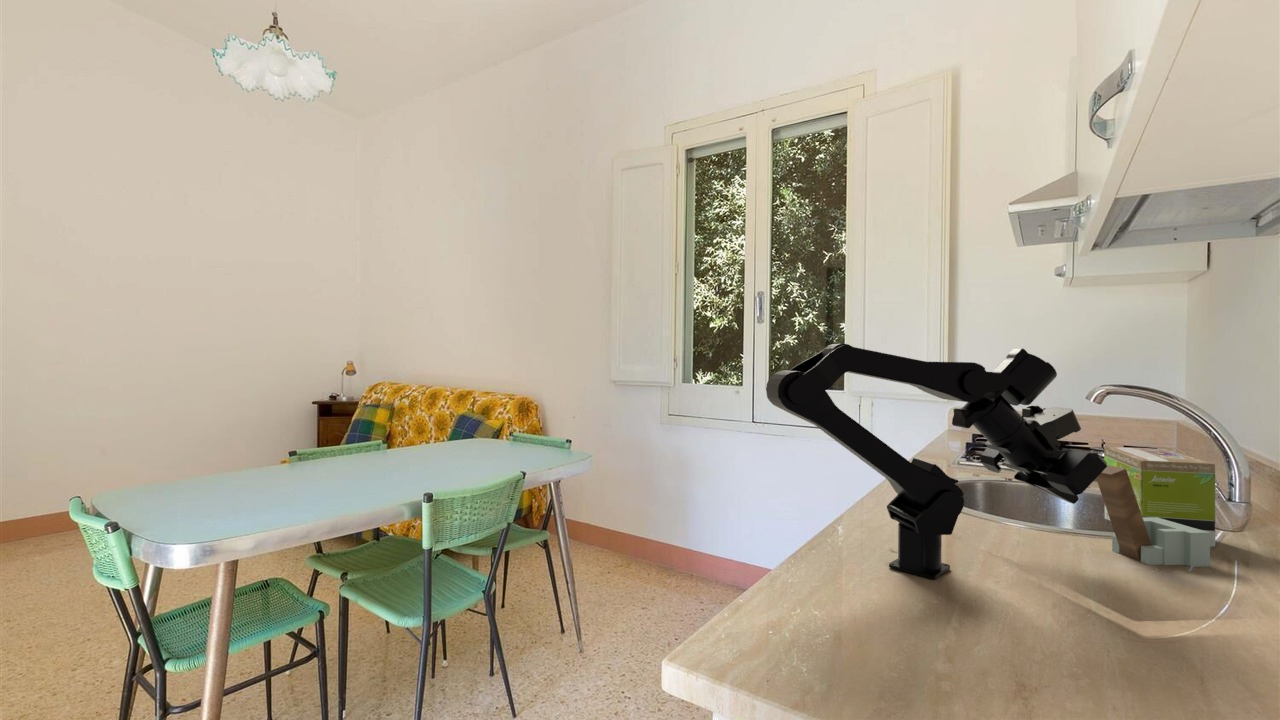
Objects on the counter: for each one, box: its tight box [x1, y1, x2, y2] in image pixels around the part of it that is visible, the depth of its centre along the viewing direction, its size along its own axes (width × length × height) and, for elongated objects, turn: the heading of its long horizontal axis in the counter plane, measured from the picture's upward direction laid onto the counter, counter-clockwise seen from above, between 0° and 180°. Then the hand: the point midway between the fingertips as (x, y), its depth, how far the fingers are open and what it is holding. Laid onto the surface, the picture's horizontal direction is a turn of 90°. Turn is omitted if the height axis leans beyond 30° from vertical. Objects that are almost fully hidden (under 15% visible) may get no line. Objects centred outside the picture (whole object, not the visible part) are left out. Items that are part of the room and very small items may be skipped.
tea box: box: [1103, 446, 1216, 547], centre depth 100 cm, size 15×10×15 cm, turn 161°
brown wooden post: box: [1095, 465, 1152, 562], centre depth 86 cm, size 2×3×14 cm
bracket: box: [1111, 517, 1211, 568], centre depth 87 cm, size 10×8×6 cm
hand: (1074, 501), depth 86 cm, fingers closed
